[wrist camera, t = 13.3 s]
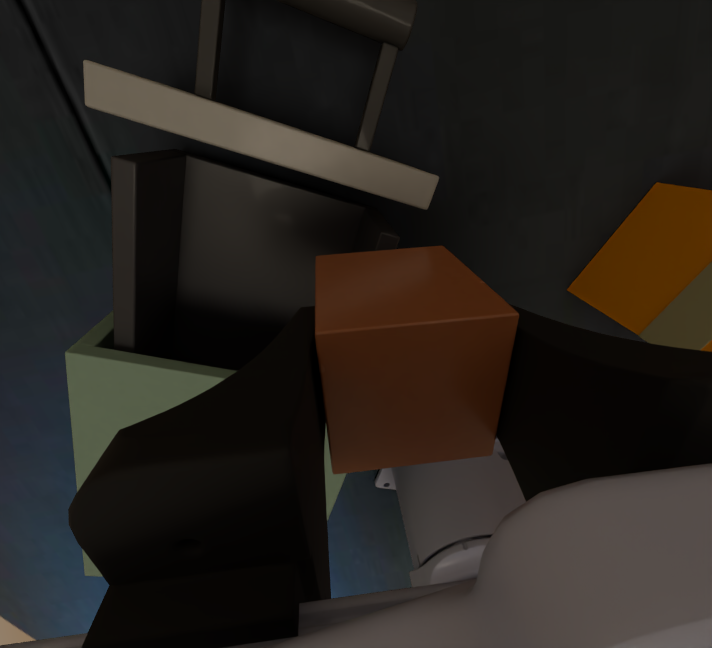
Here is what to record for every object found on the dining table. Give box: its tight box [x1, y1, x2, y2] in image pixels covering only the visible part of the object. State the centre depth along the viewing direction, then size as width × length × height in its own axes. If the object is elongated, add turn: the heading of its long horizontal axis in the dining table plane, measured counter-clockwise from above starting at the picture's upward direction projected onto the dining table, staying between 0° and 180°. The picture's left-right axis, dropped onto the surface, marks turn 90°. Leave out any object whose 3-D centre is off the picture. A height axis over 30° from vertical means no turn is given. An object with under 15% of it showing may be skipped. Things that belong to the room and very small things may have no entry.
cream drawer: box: [83, 0, 439, 371], centre depth 16 cm, size 19×11×6 cm, turn 163°
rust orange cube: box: [315, 246, 519, 474], centre depth 10 cm, size 4×4×5 cm
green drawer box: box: [65, 311, 347, 576], centre depth 21 cm, size 15×12×8 cm
